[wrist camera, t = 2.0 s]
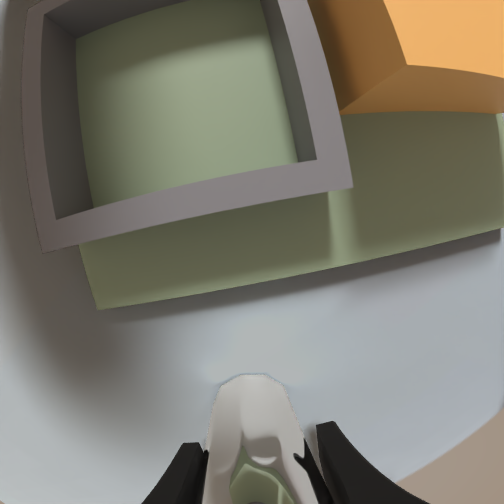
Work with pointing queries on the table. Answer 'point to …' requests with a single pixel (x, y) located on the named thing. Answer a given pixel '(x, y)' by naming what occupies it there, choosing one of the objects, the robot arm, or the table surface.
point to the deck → (258, 135)
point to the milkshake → (257, 449)
